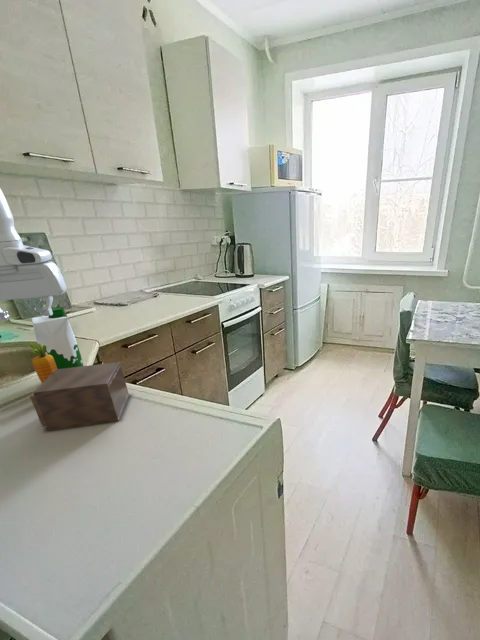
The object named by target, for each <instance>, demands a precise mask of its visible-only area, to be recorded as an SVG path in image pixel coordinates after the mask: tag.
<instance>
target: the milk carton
mask: <svg viewBox="0 0 480 640" xmlns="http://www.w3.org/2000/svg"><path fill="white" fill-rule="evenodd" d="M51 309H52V312H53V315H51V316H44V315H41V316H37V317H36V316H35V317H31V322H32V326H33V327H32V328H33V332H34V336H35V340H36V342H37V343H36V344H37V345H38V344H42V346H43V345H44V344H45V345H46V349H45V355H51V356H53V358H54V360H55V363H56V366H57V369H64V368H72V367H81V366H84V363H83V357H82V355H81V352H80V351H81V350H80V348H79V345H78V343H77V339H76V336H75V333H74V331H73V329H72V326H71V324H70V323H71V322H70V321H69V317H68V315H67V313H66V311H65V308H64V307H63V306H56V307H55V306H54V307H51ZM39 350H40V349H39ZM40 351H41V350H40ZM41 353H42V352H41Z"/></svg>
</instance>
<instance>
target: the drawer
mask: <svg viewBox="0 0 480 640" xmlns="http://www.w3.org/2000/svg"><path fill="white" fill-rule="evenodd" d="M29 398H30V400H31V403H32V405H33V407H34V410H35V412H36V415H37V417H38V419H39V422H40V424H41V427H42V428H47V425H46V423H45V420H44V418H43V416H42V413H41V411H40V408H39V406H38V404H37V401H36V399H35V396H34V394H33V392H32V393H31V394H30V395H29Z"/></svg>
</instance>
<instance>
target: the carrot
mask: <svg viewBox="0 0 480 640" xmlns="http://www.w3.org/2000/svg"><path fill="white" fill-rule="evenodd" d="M28 345H29V347H31V348H32V350H31V351H30V353H32V354H34V355H36V356H35V357H33V358H32V362H31V363H32V367H33V368H34V371H35V373H36V375H37V377H38V379H39V381H40V383H41V384H42V383H43V382H44V381H45V380H46V379H47V378H48V377H49V376H50V375H51V374H52V373H53V372H54V371H55V370H56V369H57V366H56V363H55V360H54V358H53V356H51V355H45V349H46V345H45V344H44V345H43V346H42V344H38V343H37V345H36V344H35V343H34V342H30V343H29V344H28ZM40 350H41V351H40ZM41 352H42V353H41Z"/></svg>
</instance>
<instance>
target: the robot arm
mask: <svg viewBox="0 0 480 640" xmlns="http://www.w3.org/2000/svg"><path fill="white" fill-rule="evenodd" d="M52 258H53V257H52V253H51V252H50V250H48V249H43V248H39V247H33V246H30V245H25V244H24V243H23V240H22V238H21V236H20V235H19V233H18V232H17V229H16V227H15V218H14V215H13V213H12V210H11V208H10V205H9V203H8V201H7V198H6V196H5V194H4V192H3V190H2V188H1V187H0V302H1V301H11V300H12V301H13V300H22V299H34V298H42V301H43V302H45V306H44V307H43V308H41V309H40V310H41V312H42V316H51V315H53V312H52V309H51V308H52V306H53V302H54V297H55V296H61V295H64V294H65V293H66V292H67V289H68V287H67V284H66V281H65V278H64V276H63V274H62V272H61V270H60V268H59V266H58V265H57V264H56V263H55V262H53V261H51V260H52ZM10 318H11V316H10V315H9V311H7V310H5V311H4V310H3V309H2V308H1V307H0V321H8V320H10Z"/></svg>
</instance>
